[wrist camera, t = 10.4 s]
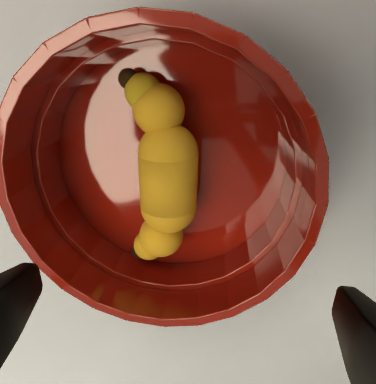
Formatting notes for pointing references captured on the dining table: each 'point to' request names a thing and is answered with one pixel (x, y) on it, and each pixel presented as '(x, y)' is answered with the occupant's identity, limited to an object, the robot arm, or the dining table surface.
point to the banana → (161, 164)
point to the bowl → (129, 176)
